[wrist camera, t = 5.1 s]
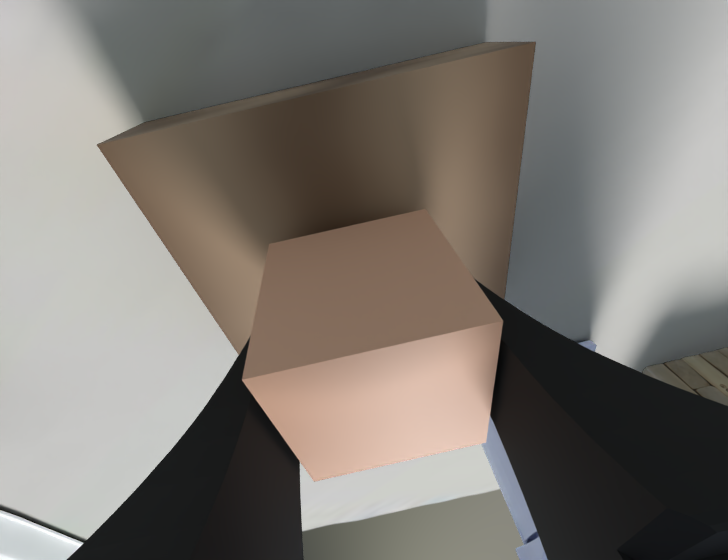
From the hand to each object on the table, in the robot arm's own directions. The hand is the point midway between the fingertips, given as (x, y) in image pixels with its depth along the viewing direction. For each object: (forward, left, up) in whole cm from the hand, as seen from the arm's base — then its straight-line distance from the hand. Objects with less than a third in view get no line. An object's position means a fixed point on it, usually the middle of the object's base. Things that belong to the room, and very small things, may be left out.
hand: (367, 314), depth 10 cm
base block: (0, 0, -5) cm, 5 cm away
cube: (0, 0, -2) cm, 2 cm away
